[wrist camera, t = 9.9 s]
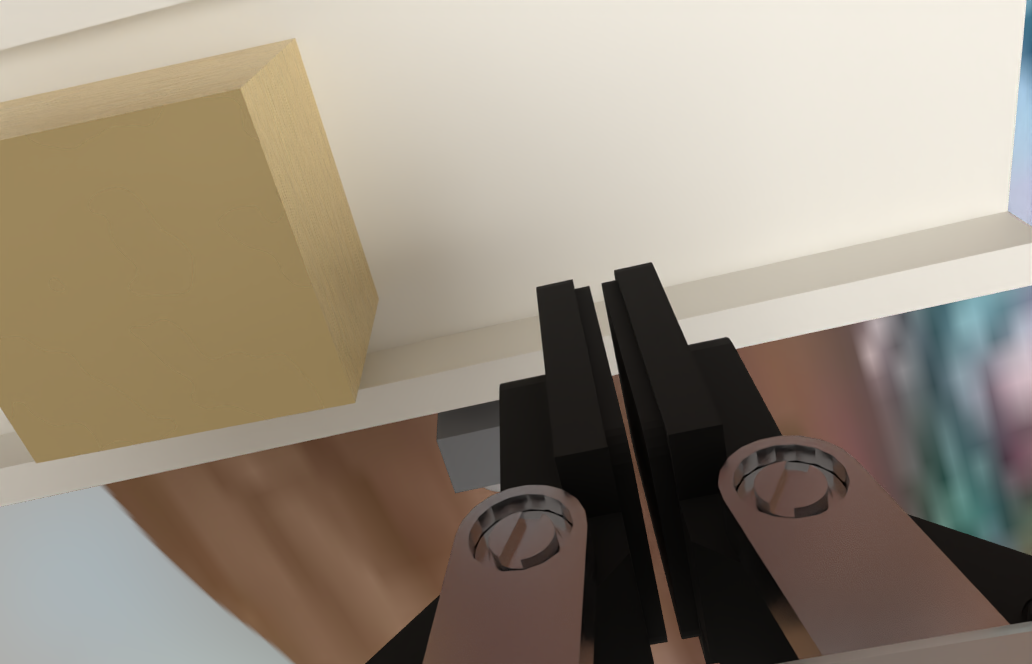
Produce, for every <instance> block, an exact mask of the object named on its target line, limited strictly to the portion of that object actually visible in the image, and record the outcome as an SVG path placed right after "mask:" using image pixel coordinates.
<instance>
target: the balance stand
mask: <svg viewBox="0 0 1032 664" xmlns="http://www.w3.org/2000/svg"><path fill="white" fill-rule="evenodd" d="M437 443H438V446H439V449H440V451H441V454H442V457H443V460H444V463H445V466H446V468H447V471H448V474H449V477H450V480H451V483H452V485H453V488H454V491H455V493H458V492H463V491H468V490H472V489H477V488H482V487H484V488H486V489H488V490H491V491H496V492H500V419H499V400H495V401H491V402H486V403H481V404H477V405H472V406H468V407H463V408H458V409H454V410H449V411H444V412H440V413H438V423H437Z"/></svg>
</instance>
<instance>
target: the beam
mask: <svg viewBox="0 0 1032 664" xmlns="http://www.w3.org/2000/svg"><path fill="white" fill-rule="evenodd" d="M1025 10H1026V0H0V102H5V101H9V100H14V99H19V98H23V97H28V96H32V95H37V94H41V93H46V92H51V91H55V90H60V89H64V88H69V87H73V86H78V85H83V84H87V83H92V82H96V81H101V80H105V79H110V78H115V77H119V76H124V75H128V74H133V73H137V72H142V71H147V70H151V69H156V68H160V67H165V66H170V65H174V64H179V63H183V62H188V61H192V60H197V59H202V58H206V57H211V56H215V55H220V54H224V53H229V52H234V51H238V50H243V49H247V48H252V47H256V46H261V45H266V44H270V43H275V42H279V41H284V40H288V39H293V38H295V39H296V42H297V45H298V48H299V51H300V55H301V58H302V61H303V64H304V67H305V70H306V73H307V76H308V79H309V83H310V86H311V89H312V92H313V95H314V98H315V101H316V104H317V107H318V111H319V114H320V117H321V120H322V123H323V126H324V129H325V132H326V135H327V139H328V142H329V145H330V148H331V151H332V154H333V157H334V160H335V163H336V167H337V170H338V173H339V176H340V179H341V182H342V185H343V188H344V191H345V195H346V198H347V201H348V204H349V207H350V210H351V213H352V216H353V220H354V223H355V226H356V229H357V232H358V235H359V238H360V241H361V244H362V248H363V251H364V254H365V257H366V260H367V263H368V266H369V269H370V272H371V276H372V279H373V282H374V285H375V288H376V291H377V294H378V297H379V301H378V305H377V310H376V314H375V318H374V323H373V327H372V332H371V336H370V340H369V345H368V349H367V354H366V358H365V363H364V367H363V371H362V376H361V380H360V385H359V389H358V393H357V398H356V402H355V403H353V404H347V405H342V406H337V407H331V408H326V409H321V410H316V411H310V412H305V413H300V414H294V415H289V416H284V417H279V418H273V419H268V420H263V421H258V422H252V423H247V424H242V425H236V426H231V427H226V428H221V429H215V430H210V431H205V432H200V433H194V434H189V435H184V436H178V437H173V438H168V439H163V440H157V441H152V442H147V443H141V444H136V445H131V446H126V447H120V448H115V449H110V450H105V451H99V452H94V453H89V454H83V455H78V456H73V457H68V458H62V459H57V460H52V461H47V462H41V463H36V462H35V461H34V459H33V458H32V456H31V454H30V453H29V451H28V450H27V448H26V447H25V445H24V444H23V442H22V440H21V439H20V437H19V436H18V434H17V433H16V431H15V430H14V428H13V426H12V425H11V423H10V422H9V420H8V419H7V417H6V416H5V414H4V412H3V411H2V409H1V408H0V507H2V506H6V505H11V504H16V503H21V502H25V501H30V500H35V499H39V498H44V497H48V496H53V495H58V494H63V493H67V492H71V491H77V490H81V489H86V488H91V487H95V486H100V485H105V484H109V483H114V482H119V481H123V480H128V479H133V478H137V477H142V476H146V475H151V474H156V473H160V472H165V471H170V470H174V469H179V468H184V467H188V466H193V465H198V464H202V463H207V462H212V461H216V460H221V459H226V458H230V457H235V456H240V455H244V454H249V453H253V452H258V451H263V450H267V449H272V448H277V447H281V446H286V445H291V444H295V443H300V442H305V441H309V440H314V439H319V438H323V437H328V436H333V435H337V434H342V433H347V432H351V431H356V430H361V429H365V428H370V427H374V426H379V425H384V424H388V423H393V422H398V421H402V420H407V419H412V418H416V417H421V416H426V415H430V414H435V413H440V412H444V411H449V410H454V409H458V408H463V407H468V406H472V405H477V404H481V403H486V402H491V401H495V400H499V386H500V384H501V383H506V382H511V381H516V380H520V379H525V378H530V377H535V376H540V375H545V367H544V357H543V348H542V339H541V330H540V321H539V312H538V302H537V293H536V287H539V286H543V285H548V284H552V283H557V282H562V281H566V280H571V279H573V283H574V288H575V289H576V288H581V287H586V286H590V290H591V294H592V298H593V302H594V306H595V310H596V314H597V318H598V322H599V326H600V330H601V334H602V338H603V342H604V346H605V350H606V354H607V358H608V362H609V367H610V371H611V375H616V374H619V373H618V368H617V363H616V357H615V352H614V347H613V342H612V337H611V332H610V327H609V321H608V316H607V311H606V306H605V301H604V296H603V291H602V284H601V283H604V282H609V281H614V280H615V276H614V270H617V269H622V268H626V267H631V266H636V265H640V264H645V263H649V262H652V264H653V265H654V268H655V270H656V272H657V275H658V277H659V279H660V282H661V284H662V286H663V288H664V291H665V293H666V295H667V298H668V300H669V302H670V305H671V307H672V309H673V311H674V314H675V316H676V318H677V321H678V323H679V325H680V328H681V330H682V332H683V334H684V337H685V339H686V341H687V344H688V345H690V344H694V343H699V342H704V341H709V340H714V339H719V338H723V337H728V338H729V339H730V340H731V342H732V343H733V345H734V347H735V349H737V348H742V347H747V346H751V345H756V344H761V343H765V342H770V341H775V340H779V339H784V338H789V337H793V336H798V335H803V334H807V333H812V332H817V331H821V330H826V329H830V328H835V327H840V326H844V325H849V324H854V323H858V322H863V321H868V320H872V319H877V318H882V317H886V316H891V315H896V314H900V313H905V312H910V311H914V310H919V309H924V308H928V307H933V306H937V305H942V304H947V303H951V302H956V301H961V300H965V299H970V298H975V297H979V296H984V295H989V294H993V293H998V292H1003V291H1007V290H1012V289H1017V288H1021V287H1026V286H1031V285H1032V226H1030V225H1029V224H1027V223H1025V222H1024V221H1022V220H1021V219H1019V218H1018V217H1016V216H1014V215H1013V214H1011V213H1010V212H1008V200H1009V189H1010V178H1011V167H1012V156H1013V145H1014V133H1015V122H1016V111H1017V100H1018V89H1019V77H1020V66H1021V55H1022V44H1023V33H1024V21H1025Z"/></svg>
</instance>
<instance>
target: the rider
mask: <svg viewBox="0 0 1032 664" xmlns="http://www.w3.org/2000/svg"><path fill="white" fill-rule="evenodd" d="M378 301H379V297H378V294H377V291H376V288H375V285H374V282H373V279H372V276H371V272H370V269H369V266H368V263H367V260H366V257H365V254H364V251H363V248H362V244H361V241H360V238H359V235H358V232H357V229H356V226H355V223H354V220H353V216H352V213H351V210H350V207H349V204H348V201H347V198H346V195H345V191H344V188H343V185H342V182H341V179H340V176H339V173H338V170H337V167H336V163H335V160H334V157H333V154H332V151H331V148H330V145H329V142H328V139H327V135H326V132H325V129H324V126H323V123H322V120H321V117H320V114H319V111H318V107H317V104H316V101H315V98H314V95H313V92H312V89H311V86H310V83H309V79H308V76H307V73H306V70H305V67H304V64H303V61H302V58H301V55H300V51H299V48H298V45H297V42H296V39H295V38H293V39H288V40H284V41H279V42H275V43H270V44H266V45H261V46H256V47H252V48H247V49H243V50H238V51H234V52H229V53H224V54H220V55H215V56H211V57H206V58H202V59H197V60H192V61H188V62H183V63H179V64H174V65H170V66H165V67H160V68H156V69H151V70H147V71H142V72H137V73H133V74H128V75H124V76H119V77H115V78H110V79H105V80H101V81H96V82H92V83H87V84H83V85H78V86H73V87H69V88H64V89H60V90H55V91H51V92H46V93H41V94H37V95H32V96H28V97H23V98H19V99H14V100H9V101H5V102H0V408H1V409H2V411H3V412H4V414H5V416H6V417H7V419H8V420H9V422H10V423H11V425H12V426H13V428H14V430H15V431H16V433H17V434H18V436H19V437H20V439H21V440H22V442H23V444H24V445H25V447H26V448H27V450H28V451H29V453H30V454H31V456H32V458H33V459H34V461H35V462H36V463H41V462H47V461H52V460H57V459H62V458H68V457H73V456H78V455H83V454H89V453H94V452H99V451H105V450H110V449H115V448H120V447H126V446H131V445H136V444H141V443H147V442H152V441H157V440H163V439H168V438H173V437H178V436H184V435H189V434H194V433H200V432H205V431H210V430H215V429H221V428H226V427H231V426H236V425H242V424H247V423H252V422H258V421H263V420H268V419H273V418H279V417H284V416H289V415H294V414H300V413H305V412H310V411H316V410H321V409H326V408H331V407H337V406H342V405H347V404H353V403H355V402H356V398H357V393H358V389H359V385H360V380H361V376H362V371H363V367H364V363H365V358H366V354H367V349H368V345H369V340H370V336H371V332H372V327H373V323H374V318H375V314H376V310H377V305H378Z"/></svg>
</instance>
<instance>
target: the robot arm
mask: <svg viewBox="0 0 1032 664" xmlns="http://www.w3.org/2000/svg"><path fill="white" fill-rule="evenodd" d="M614 276H615V280H614V281H609V282H604V283H601V284H602V291H603V296H604V301H605V306H606V311H607V316H608V321H609V327H610V332H611V337H612V342H613V347H614V352H615V357H616V363H617V368H618V373H619V378H620V383H621V388H622V393H623V398H624V404H625V409H626V414H627V419H628V424H629V429H630V434H631V439H632V444H633V448H634V453H635V457H636V461H637V465H638V469H639V473H640V477H641V481H642V485H643V489H644V492H645V496H646V500H647V504H648V508H649V512H650V516H651V520H652V524H653V528H654V532H655V536H656V540H657V544H658V548H659V552H660V555H661V559H662V563H663V567H664V571H665V575H666V579H667V583H668V587H669V591H670V595H671V599H672V603H673V607H674V611H675V615H676V618H677V622H678V626H679V630H680V634H681V637H682V639H686V638H692V637H697V636H699V640H700V643H701V647H702V650H703V654H704V658H705V661H706V664H713V663H720V664H1032V556H1031V555H1028V554H1025V553H1022V552H1019V551H1016V550H1013V549H1010V548H1007V547H1004V546H1001V545H998V544H995V543H992V542H989V541H986V540H983V539H980V538H977V537H974V536H971V535H968V534H965V533H962V532H959V531H956V530H953V529H950V528H947V527H944V526H941V525H938V524H935V523H932V522H929V521H926V520H923V519H920V518H917V517H914V516H911V515H908V514H907V513H906V512H905V511H904V510H903V509H902V508H901V507H900V506H899V505H898V504H897V503H896V502H895V501H894V500H893V498H892V497H891V496H890V495H889V494H888V493H887V492H886V491H885V490H884V489H883V488H882V487H881V486H880V485H879V483H878V482H877V481H876V480H875V479H874V478H873V477H872V476H871V475H870V474H869V473H868V472H867V471H866V470H865V469H864V467H863V466H862V465H861V464H860V463H859V462H858V461H857V460H856V459H855V458H854V457H852V456H851V455H850V454H848V453H847V452H846V451H845V450H843V449H842V448H840V447H838V446H836V445H833V444H831V443H828V442H826V441H824V440H820V439H815V438H810V437H804V436H782V434H781V432H780V431H779V429H778V427H777V425H776V423H775V421H774V419H773V418H772V416H771V414H770V412H769V410H768V408H767V406H766V404H765V403H764V401H763V399H762V397H761V395H760V393H759V391H758V390H757V388H756V386H755V384H754V382H753V380H752V378H751V377H750V375H749V373H748V371H747V369H746V367H745V365H744V363H743V362H742V360H741V358H740V356H739V354H738V352H737V350H736V349H735V347H734V345H733V343H732V342H731V340H730V339H729V338H728V337H723V338H719V339H714V340H709V341H704V342H699V343H694V344H690V345H688V344H687V341H686V339H685V337H684V334H683V332H682V330H681V328H680V325H679V323H678V321H677V318H676V316H675V314H674V311H673V309H672V307H671V305H670V302H669V300H668V298H667V295H666V293H665V291H664V288H663V286H662V284H661V282H660V279H659V277H658V275H657V272H656V270H655V268H654V265H653V264H652V262H649V263H645V264H640V265H636V266H631V267H626V268H622V269H617V270H614ZM536 293H537V302H538V312H539V321H540V330H541V339H542V348H543V357H544V367H545V375H540V376H535V377H530V378H525V379H520V380H516V381H511V382H506V383H501V384H500V386H499V419H500V492H499V493H497V494H495V495H492V496H490V497H488V498H487V499H486V500H484V501H483V502H481V503H480V504H478V505H477V506H475V507H474V508H473V509H472V510H471V511H470V513H469V514H468V515H467V516H466V517H465V518H464V519H463V521H462V522H461V524H460V527H459V529H458V531H457V533H456V535H455V539H454V543H453V547H452V551H451V554H450V558H449V562H448V566H447V570H446V574H445V578H444V582H443V586H442V590H441V593H440V595H439V596H438V597H437V598H436V599H435V600H434V601H433V602H432V603H430V604H429V605H428V606H427V607H426V608H425V609H424V610H423V611H422V612H421V613H420V614H419V615H417V616H416V617H415V618H414V619H413V620H412V621H411V622H410V623H409V624H408V625H407V626H406V627H404V628H403V629H402V630H401V631H400V632H399V633H398V634H397V635H396V636H395V637H394V638H393V639H391V640H390V641H389V642H388V643H387V644H386V645H385V646H384V647H383V648H382V649H381V650H380V651H378V652H377V653H376V654H375V655H374V656H373V657H372V658H371V659H370V660H369V661H368V662H367V663H365V664H654V662H653V657H652V652H651V647H650V645H652V644H658V643H663V642H668V641H667V635H666V630H665V625H664V620H663V615H662V610H661V605H660V600H659V595H658V590H657V584H656V579H655V574H654V569H653V564H652V559H651V554H650V549H649V544H648V539H647V534H646V529H645V524H644V519H643V514H642V509H641V504H640V498H639V493H638V488H637V483H636V478H635V473H634V468H633V463H632V458H631V454H630V449H629V444H628V440H627V436H626V431H625V427H624V423H623V419H622V415H621V411H620V407H619V403H618V399H617V395H616V391H615V387H614V383H613V379H612V375H611V371H610V367H609V362H608V358H607V354H606V350H605V346H604V342H603V338H602V334H601V330H600V326H599V322H598V318H597V314H596V310H595V306H594V302H593V298H592V294H591V290H590V286H586V287H581V288H576V289H575V288H574V283H573V279H571V280H566V281H562V282H557V283H552V284H548V285H543V286H539V287H536Z"/></svg>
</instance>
